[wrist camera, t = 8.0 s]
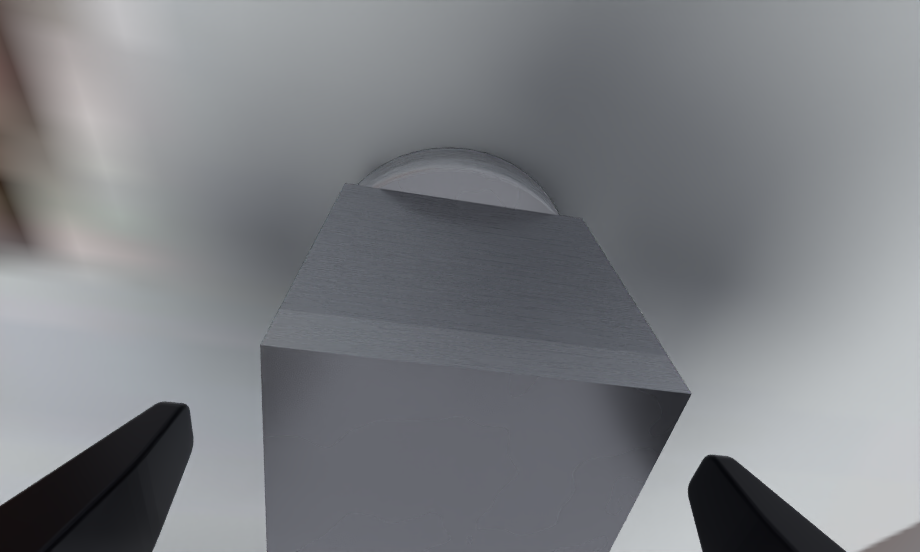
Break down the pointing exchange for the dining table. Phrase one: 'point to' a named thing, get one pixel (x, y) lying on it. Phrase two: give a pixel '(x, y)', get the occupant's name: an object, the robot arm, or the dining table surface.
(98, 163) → the dining table surface
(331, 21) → the dining table surface
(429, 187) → the gray handled tool
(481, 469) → the gray block
